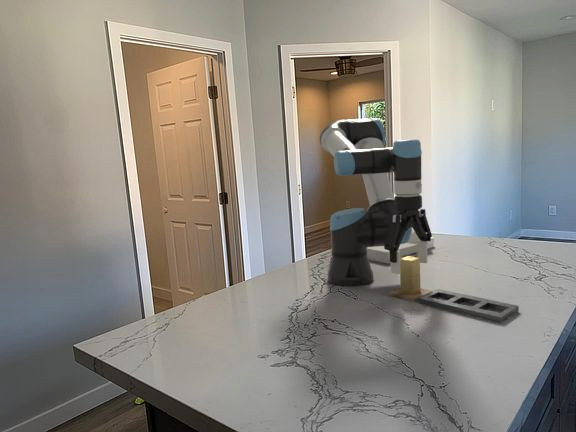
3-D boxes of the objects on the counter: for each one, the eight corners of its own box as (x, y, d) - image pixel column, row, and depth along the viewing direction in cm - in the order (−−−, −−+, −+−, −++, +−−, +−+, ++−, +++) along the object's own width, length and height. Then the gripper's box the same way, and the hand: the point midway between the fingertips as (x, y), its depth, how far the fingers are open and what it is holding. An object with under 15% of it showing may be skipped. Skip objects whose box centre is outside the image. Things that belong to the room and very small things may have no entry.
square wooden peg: (400, 292, 128) (399, 258, 127) (408, 288, 131) (407, 256, 130) (412, 294, 125) (411, 260, 124) (420, 291, 128) (419, 257, 127)
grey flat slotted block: (419, 303, 121) (419, 298, 120) (438, 294, 127) (438, 289, 127) (501, 323, 104) (501, 317, 104) (518, 311, 110) (518, 305, 110)
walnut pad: (388, 295, 129) (388, 292, 129) (406, 287, 135) (406, 285, 134) (415, 301, 122) (415, 299, 122) (433, 293, 128) (433, 290, 128)
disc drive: (375, 248, 192) (375, 236, 191) (417, 256, 174) (417, 243, 173) (346, 255, 182) (345, 243, 182) (387, 264, 164) (386, 251, 163)
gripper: (392, 201, 113) (394, 280, 117) (443, 190, 129) (444, 260, 133) (369, 199, 119) (372, 275, 122) (420, 189, 135) (422, 256, 138)
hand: (409, 267), depth 127 cm, fingers open, 13 cm apart
